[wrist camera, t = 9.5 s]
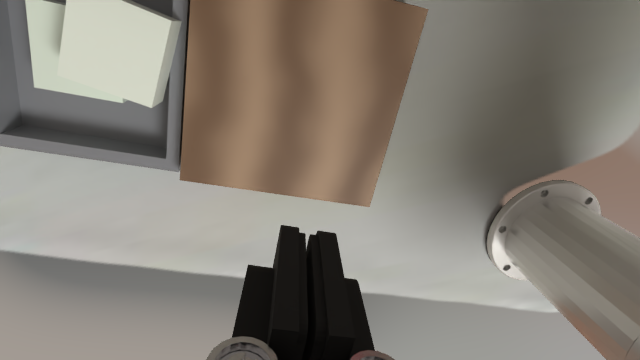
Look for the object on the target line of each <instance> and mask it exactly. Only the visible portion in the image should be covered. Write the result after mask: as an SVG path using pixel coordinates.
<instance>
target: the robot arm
mask: <svg viewBox="0 0 640 360" xmlns="http://www.w3.org/2000/svg"><path fill="white" fill-rule="evenodd" d="M487 250H488V254H489V257H490V259H491V261H492V262H493V263H494V265H495V266H496V267H497V268H498V269H499V270H500V271H501V272H502V273H503V274H505V275H507V276H508V277H511V278H514V279H517V280H529V281H530V282H531V283H532V284H533V285H534V286H535V287H536V288H537V289H538V290H539V291H540V292H541V293H542V294H543V295H544V296H545V297H546V298H547V299H548V300H549V301H550V302H551V303H552V304H553V305H554V306H555V308H556V309H557V310H558V311H559V312H560V313H561V314H563V316H564V317H565V318H566V319H567V320H568V321H569V322H570V323H571V324H572V325H573V326H574V327H575V328H576V329H577V330H578V331H579V332H580V333H581V334H582V335H583V336H584V337H585V338H586V339H587V340H588V341H589V342H590V343H591V344H592V345H593V346H594V347H595V348H596V349H597V350H598V351H599V352H600V353H601V354H602V356H603V357H604V358H605V359H606V360H640V238H639V237H637V236H636V235H634V234H632V233H631V232H629V231H627V230H625V229H624V228H622V227H620V226H619V225H617V224H615V223H614V222H612V221H610V220H608V219H607V218H605V217H603V216H601V210H600V205H599V203H598V200H597V199H596V197H595V196H594V195H593V194H592V193H591V192H590V191H589V190H587V189H586V188H584V187H582V186H581V185H578V184H576V183H574V182H570V181H564V180H552V181H547V182H542V183H539V184H536V185H534V186H531V187H529V188H527V189H525V190H524V191H522V192H520V193H518V194H517V195H516V196H515V197H513V198H512V199H511V200H510V201H508V202H507V203H506V204H505V205H504V206H503V207H502V209H501V210H500V211H499V213H498V214H497V215H496V217H495V219H494V220H493V222H492V224H491V226H490V229H489V233H488V237H487ZM206 360H394V359H393V358H392V357H390V356H389V355H386V354H384V353H381V352H379V351H375V350H374V345H373V341H372V337H371V333H370V329H369V325H368V321H367V317H366V312H365V308H364V304H363V300H362V296H361V292H360V288H359V284H358V281H357V280H355V279H348V278H344V274H343V268H342V263H341V258H340V253H339V247H338V242H337V237H336V234H335V233H330V232H323V231H317V233H316V235H312V234H310V236H309V240H308V245H307V249H306V239H305V233H299V228H297V227H291V226H284V225H281V228H280V233H279V238H278V243H277V248H276V254H275V259H274V264H273V268H268V267H261V266H253V265H248V268H247V272H246V277H245V281H244V286H243V290H242V295H241V299H240V304H239V308H238V313H237V317H236V322H235V327H234V331H233V335H232V338H230V339H228V340H225V341H223V342H221V343H220V344H219V345H218V346H216V347H215V348H214V349H213V350H212V351H211V353H210V354H209V356H208V357H207V359H206Z"/></svg>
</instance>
